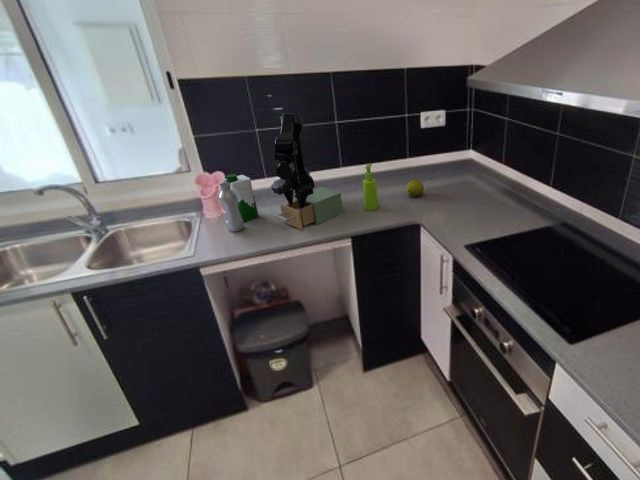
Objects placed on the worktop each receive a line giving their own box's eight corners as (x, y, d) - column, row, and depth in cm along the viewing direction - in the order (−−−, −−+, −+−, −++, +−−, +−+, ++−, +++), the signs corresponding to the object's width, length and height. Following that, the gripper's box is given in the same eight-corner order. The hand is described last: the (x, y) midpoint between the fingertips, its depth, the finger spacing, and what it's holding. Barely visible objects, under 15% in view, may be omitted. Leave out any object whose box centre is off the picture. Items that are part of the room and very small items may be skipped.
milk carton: (232, 217, 166) (220, 174, 157) (252, 211, 172) (242, 169, 163) (241, 223, 161) (229, 179, 152) (262, 216, 167) (251, 173, 157)
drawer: (291, 233, 151) (287, 215, 148) (274, 225, 157) (270, 208, 154) (326, 217, 164) (323, 200, 160) (309, 210, 170) (306, 194, 166)
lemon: (415, 190, 192) (415, 175, 188) (427, 194, 187) (427, 179, 183) (401, 197, 184) (400, 182, 180) (413, 201, 180) (413, 185, 176)
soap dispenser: (379, 204, 178) (376, 162, 168) (376, 210, 171) (373, 168, 162) (367, 203, 178) (363, 162, 168) (363, 210, 172) (360, 167, 162)
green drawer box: (317, 224, 160) (313, 203, 155) (298, 216, 167) (294, 196, 162) (342, 212, 170) (340, 192, 166) (324, 205, 177) (321, 186, 172)
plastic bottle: (248, 227, 159) (237, 181, 149) (237, 234, 153) (224, 188, 143) (236, 224, 160) (224, 180, 151) (224, 232, 155) (210, 186, 145)
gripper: (257, 171, 149) (266, 207, 156) (286, 181, 139) (294, 219, 146) (282, 164, 156) (288, 199, 164) (311, 173, 146) (317, 209, 154)
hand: (296, 206), depth 157 cm, fingers open, 7 cm apart
